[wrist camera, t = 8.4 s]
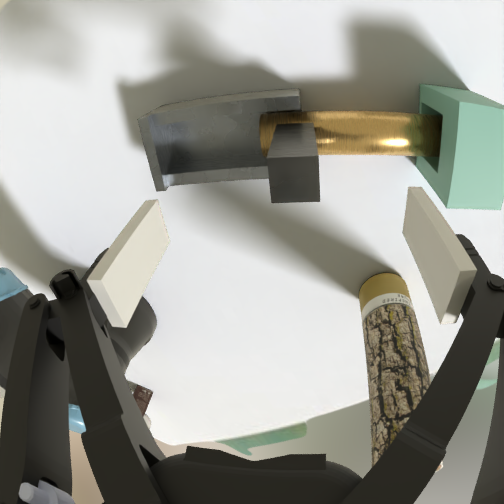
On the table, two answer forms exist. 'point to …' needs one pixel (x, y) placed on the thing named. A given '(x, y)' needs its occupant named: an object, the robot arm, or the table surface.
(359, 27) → the table surface
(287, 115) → the brass sliding bolt
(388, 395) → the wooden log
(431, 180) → the socket block
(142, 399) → the box
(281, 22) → the table surface
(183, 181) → the grey bracket
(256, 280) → the table surface
